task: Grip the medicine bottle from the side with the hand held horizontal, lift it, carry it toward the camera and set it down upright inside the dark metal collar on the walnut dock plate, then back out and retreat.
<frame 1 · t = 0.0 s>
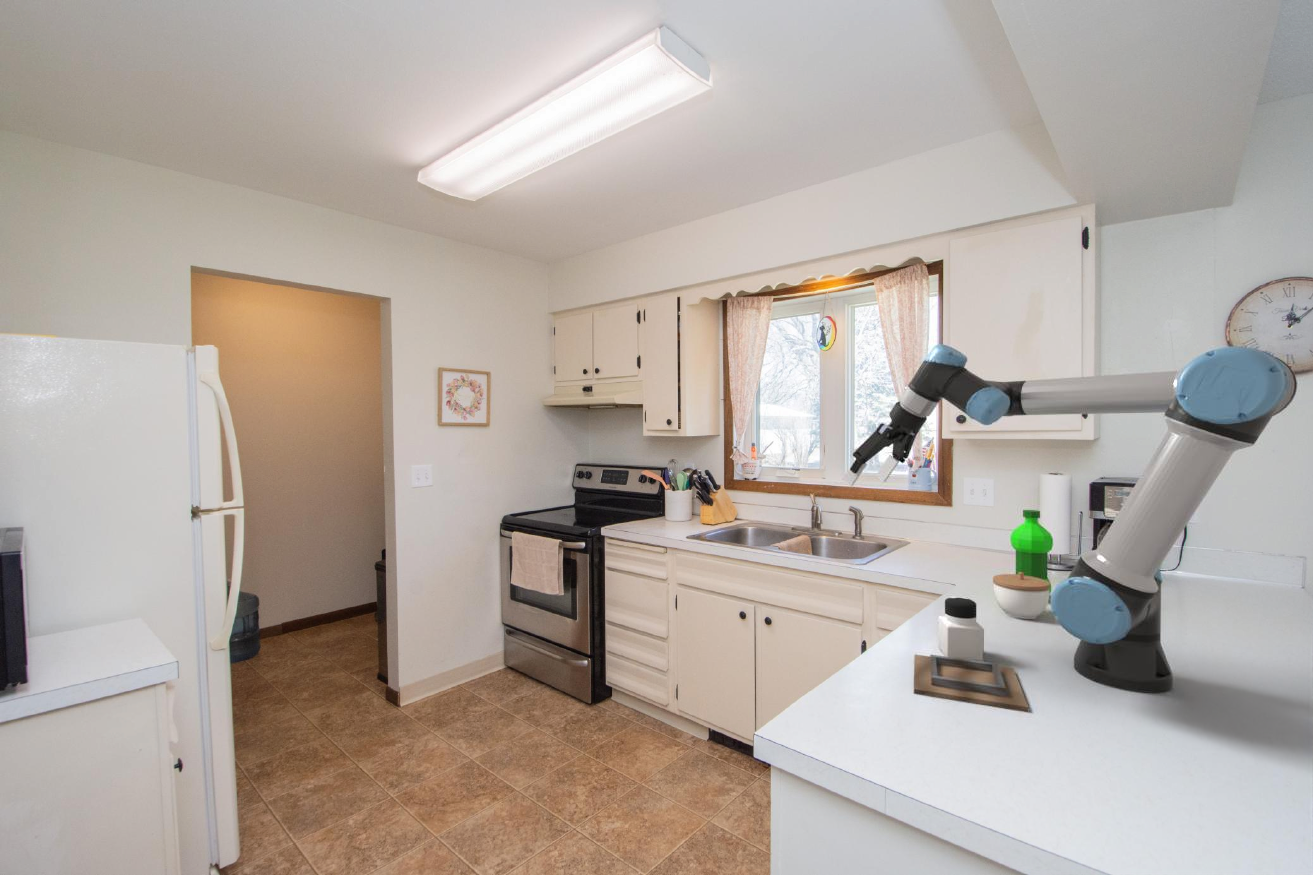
hand: (864, 480, 144), 36 cm above the countertop, tool tilted 35°, fingers open, 13 cm apart
lidded bowl: (1020, 615, 153), on the countertop
medicine bottle: (960, 655, 126), on the countertop
dock: (965, 682, 113), on the countertop
plastic bottle: (1031, 599, 167), on the countertop
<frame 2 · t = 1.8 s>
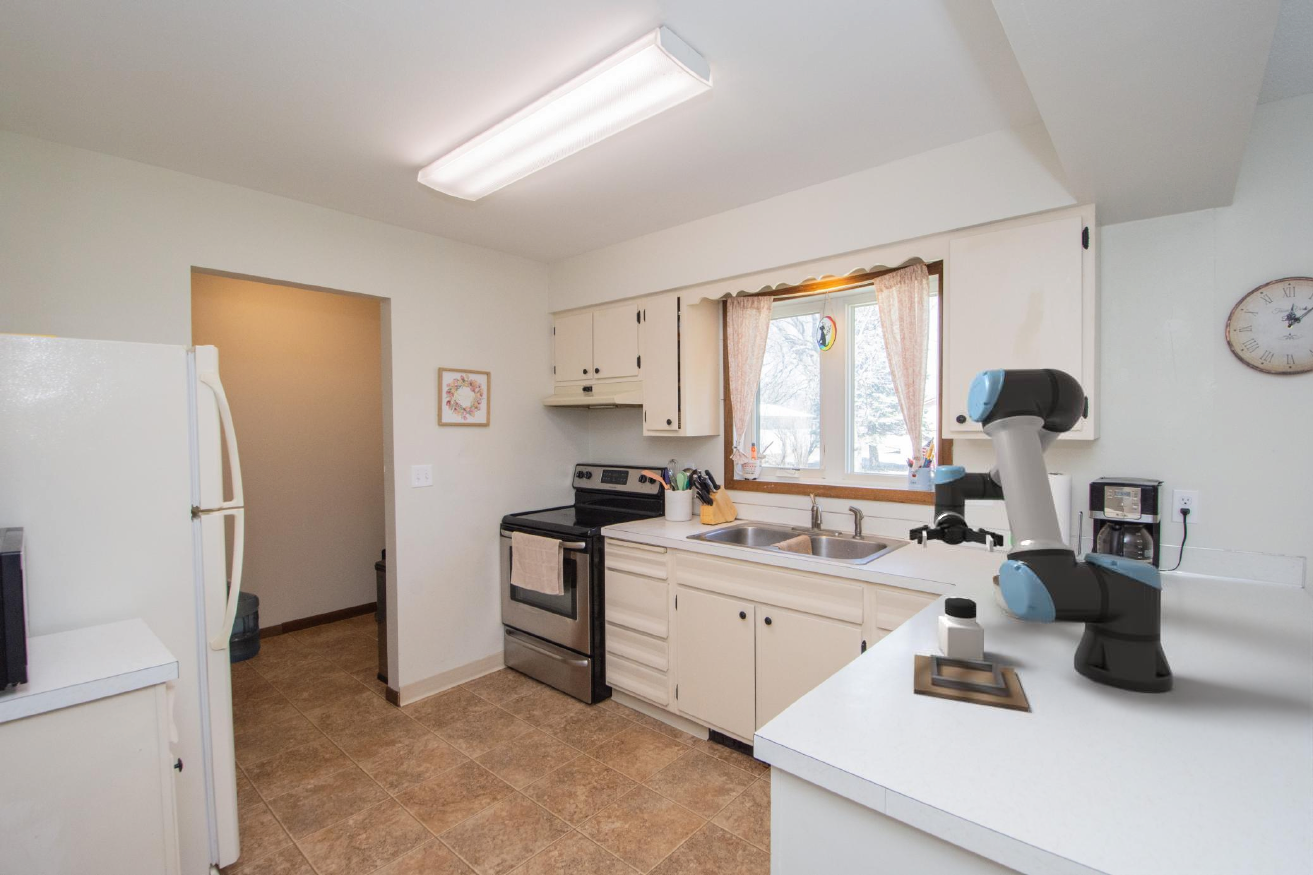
hand: (957, 544, 135), 22 cm above the countertop, tool horizontal, fingers open, 13 cm apart
nothing on the countertop moved.
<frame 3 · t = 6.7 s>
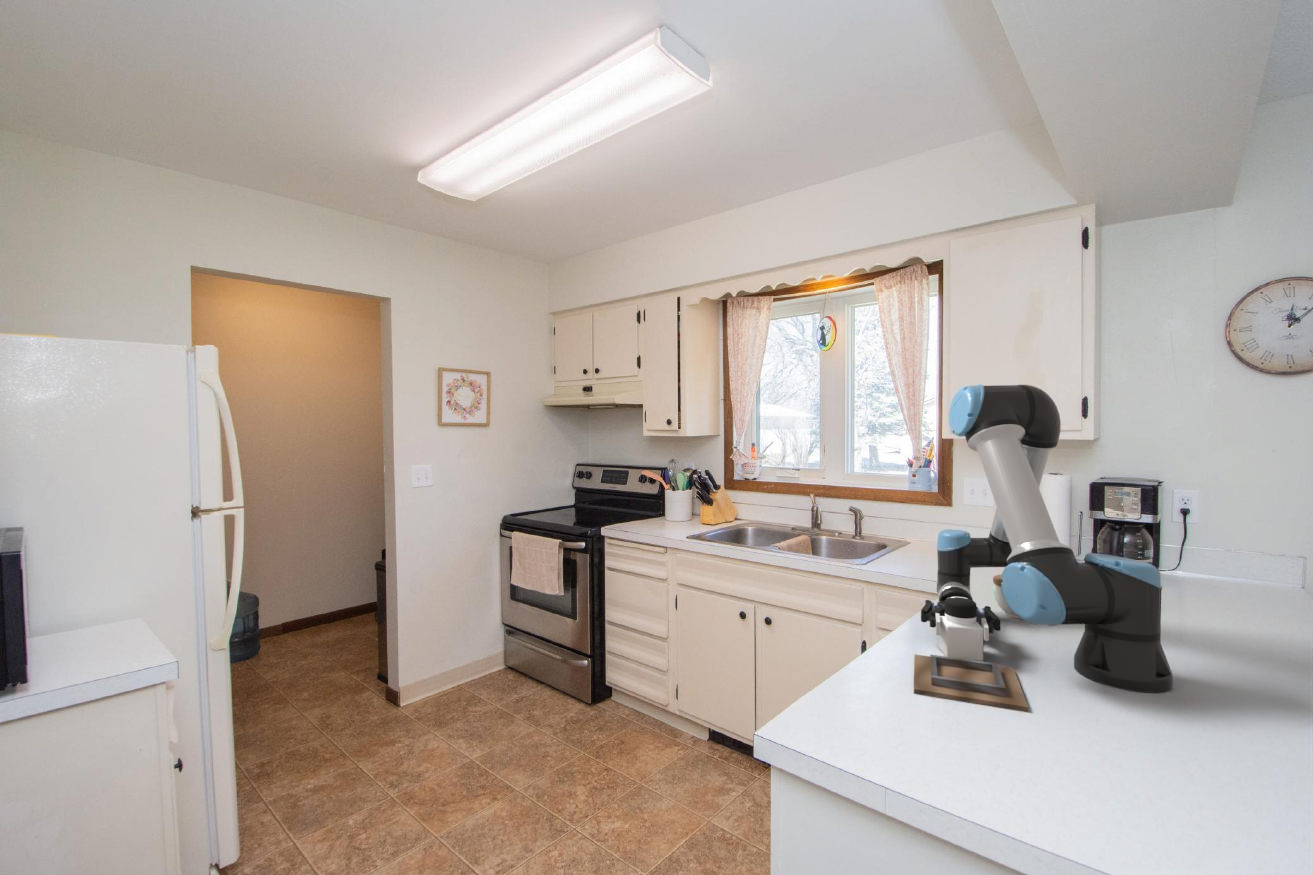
hand: (962, 631, 122), 7 cm above the countertop, tool horizontal, fingers closed on medicine bottle, 8 cm apart
medicine bottle: (960, 655, 126), on the countertop, touching gripper
everything else where it was.
when the fingers open (9 cm above the countertop, at t = 11.2 s): medicine bottle drops 2 cm, resting on dock.
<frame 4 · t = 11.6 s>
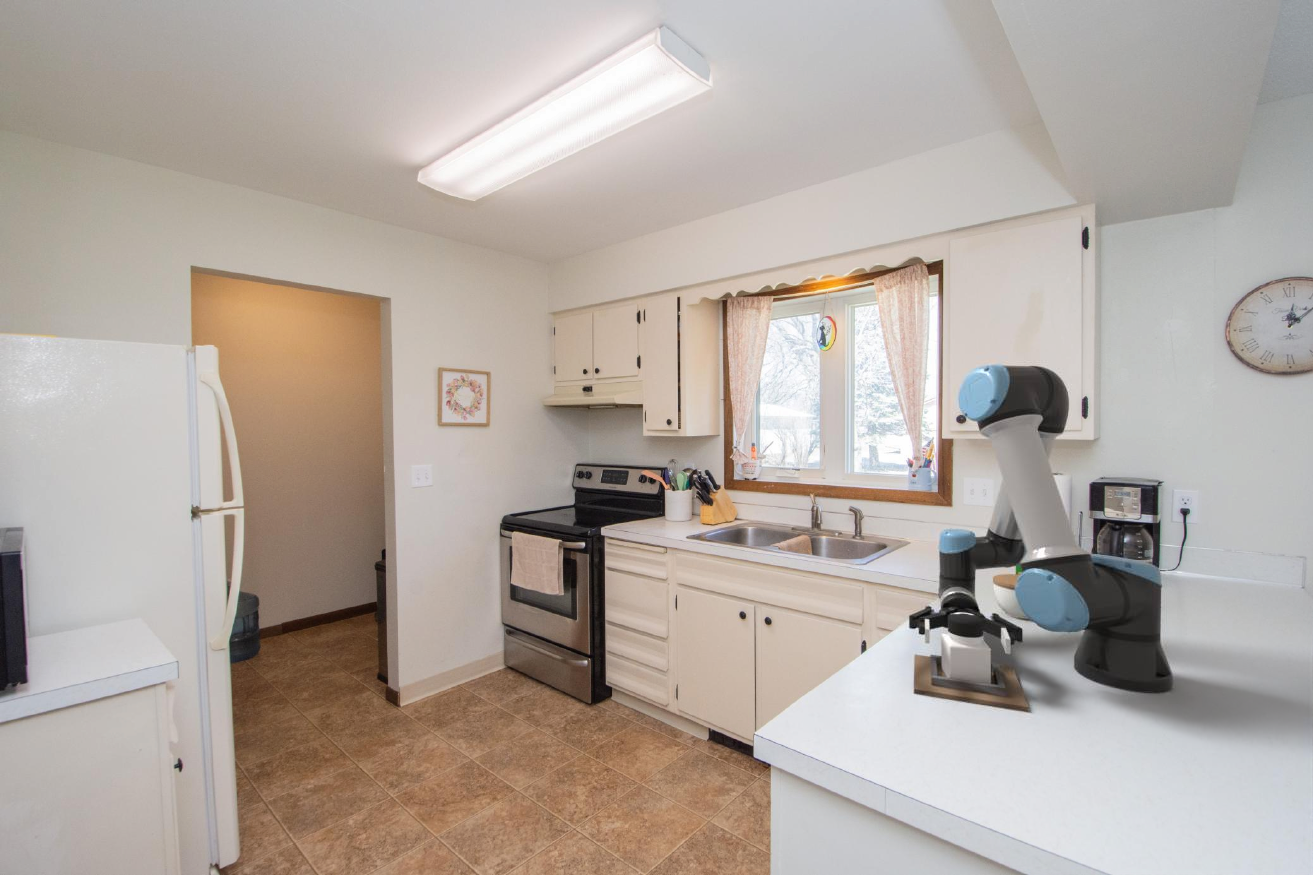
hand: (966, 641, 109), 9 cm above the countertop, tool horizontal, fingers open, 13 cm apart
medicine bottle: (965, 678, 113), point 1 cm above the countertop, touching dock
everything else where it was.
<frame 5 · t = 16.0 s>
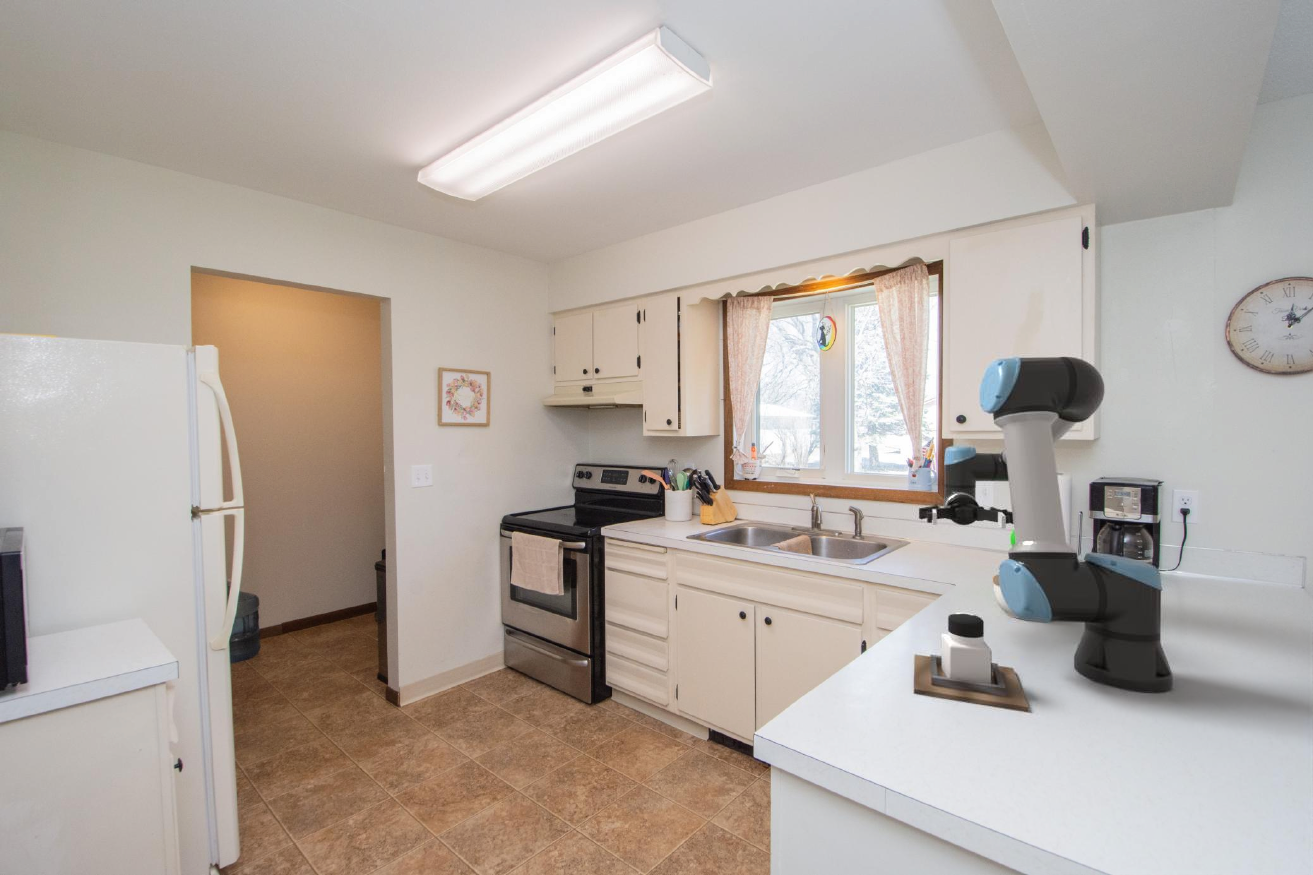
hand: (968, 520, 131), 28 cm above the countertop, tool horizontal, fingers open, 13 cm apart
nothing on the countertop moved.
at the end: medicine bottle 0.1 cm off-centre on the dock, point 0.6 cm above the dock's base; medicine bottle tilted 0°; the gripper is holding nothing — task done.
